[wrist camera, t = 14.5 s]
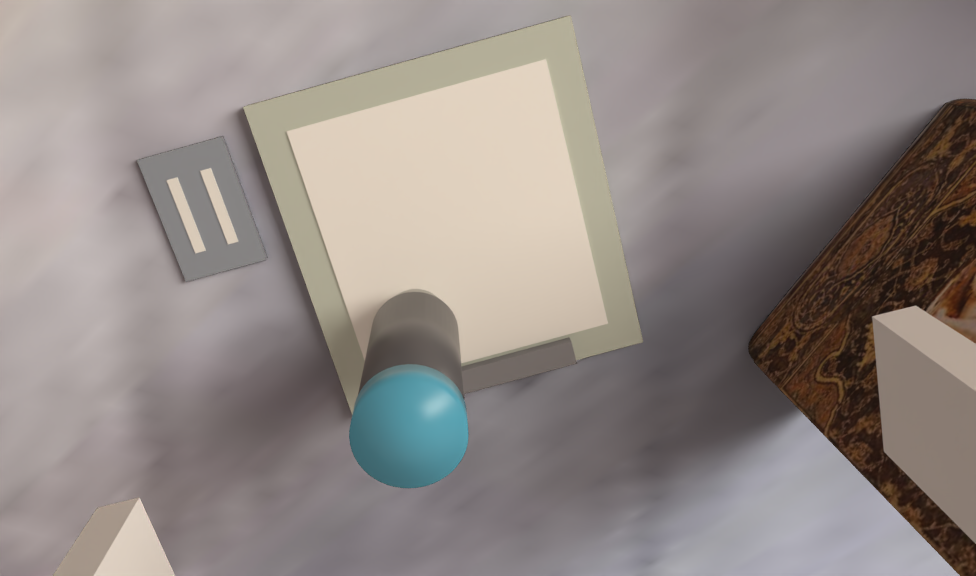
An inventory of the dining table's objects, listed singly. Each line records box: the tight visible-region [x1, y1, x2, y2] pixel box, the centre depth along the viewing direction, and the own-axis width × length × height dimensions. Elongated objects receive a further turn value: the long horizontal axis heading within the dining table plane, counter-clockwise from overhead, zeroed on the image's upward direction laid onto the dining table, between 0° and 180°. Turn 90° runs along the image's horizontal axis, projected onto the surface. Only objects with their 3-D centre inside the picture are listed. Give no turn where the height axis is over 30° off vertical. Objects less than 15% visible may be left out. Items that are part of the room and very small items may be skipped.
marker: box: [349, 289, 468, 488], centre depth 34 cm, size 4×4×12 cm
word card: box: [137, 136, 268, 282], centre depth 38 cm, size 6×4×1 cm, turn 15°
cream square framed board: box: [243, 16, 643, 415], centre depth 39 cm, size 16×15×1 cm
